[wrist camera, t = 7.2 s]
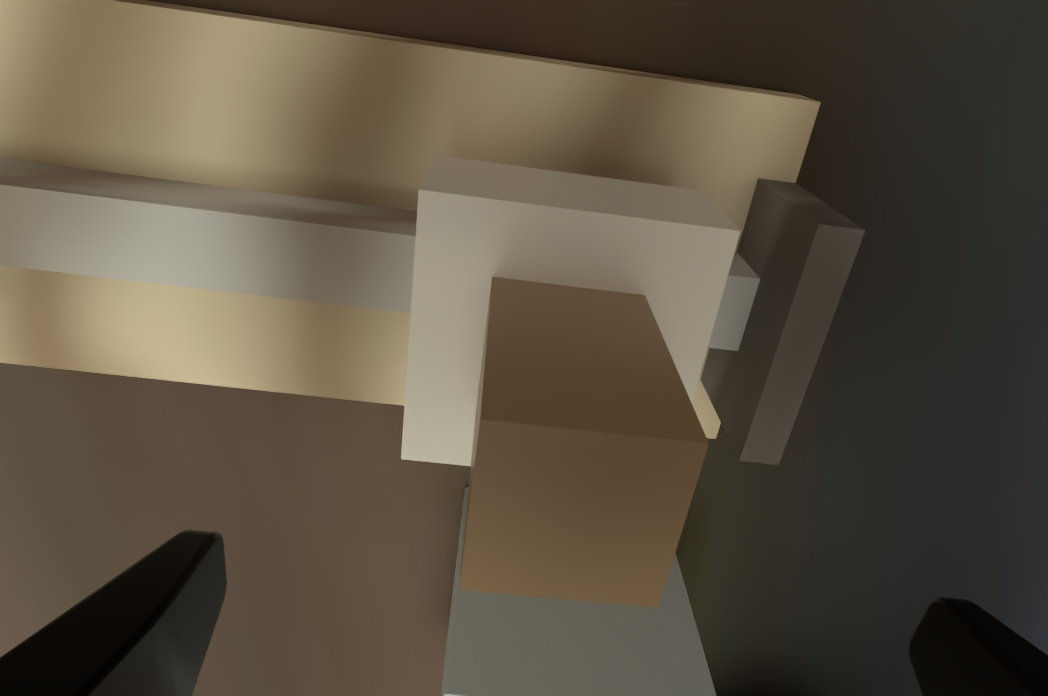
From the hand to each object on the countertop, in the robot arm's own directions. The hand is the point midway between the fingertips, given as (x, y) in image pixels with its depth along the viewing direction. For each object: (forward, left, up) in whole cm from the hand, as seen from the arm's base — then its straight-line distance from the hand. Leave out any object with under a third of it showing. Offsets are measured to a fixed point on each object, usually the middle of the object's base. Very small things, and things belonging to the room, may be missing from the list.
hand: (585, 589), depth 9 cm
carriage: (0, 0, -10) cm, 10 cm away
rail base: (+5, 0, -13) cm, 14 cm away
